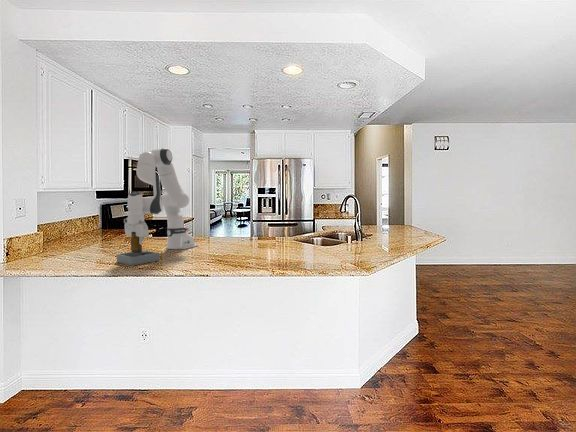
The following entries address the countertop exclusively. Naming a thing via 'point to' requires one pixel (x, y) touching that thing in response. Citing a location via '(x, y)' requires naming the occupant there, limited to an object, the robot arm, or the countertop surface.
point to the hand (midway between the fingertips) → (137, 243)
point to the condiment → (135, 244)
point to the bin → (137, 258)
